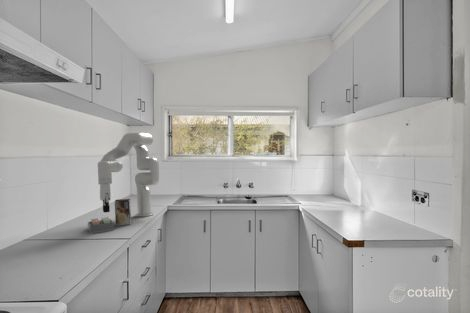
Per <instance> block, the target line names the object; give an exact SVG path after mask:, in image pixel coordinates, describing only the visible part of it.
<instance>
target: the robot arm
mask: <svg viewBox="0 0 470 313" xmlns="http://www.w3.org/2000/svg"><path fill="white" fill-rule="evenodd" d="M153 140H154V138H153V136H152V134H150V133H146V132H127V133H124V135H123V136H122V138H121V139H120V141H119V143H118V144H117V146H116V147H114V148H112V149H111V150H109V151H108V152H106V153H105V154H104V155H103V157H102V158H101V159H100V161H98V162H97V176H98V178H97V179H98V185H99V200H100V201H101V202H102V212H103V213H110V211H111V210H110V209H111V208H110V201H111V198H112V197H111V195H112V194H111V184H112V183H113V178H112V177H113V176H112V173H119V172H120V171H122V170H123V167H124V165H123V163H122V162H121V161H120V160H118V159H120V158H121V159H122V158H124V157H126V156H127V155H129V153H130V152H131V149H132V148H134V149H135V152H136V168H137V170H138V171H144V172H138V173H136V174H135V177H134V182H135V188H136V202H137V203H136V205H137V207H136V209H137V212H136V213H135V217H140V218H141V217H143V218H144V217H150V216H153V215H154V212H153V211H152V205H151V204H152V202H151V200H152V199H151V190H150V187H149V186H156V185H158V184H159V181H160V164H159V161H158V159H157V158H156V157H149V150H148V147H147V146H151V145H152V144H153V142H154V141H153ZM145 171H147V172H145ZM148 171H149V172H148Z"/></svg>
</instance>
